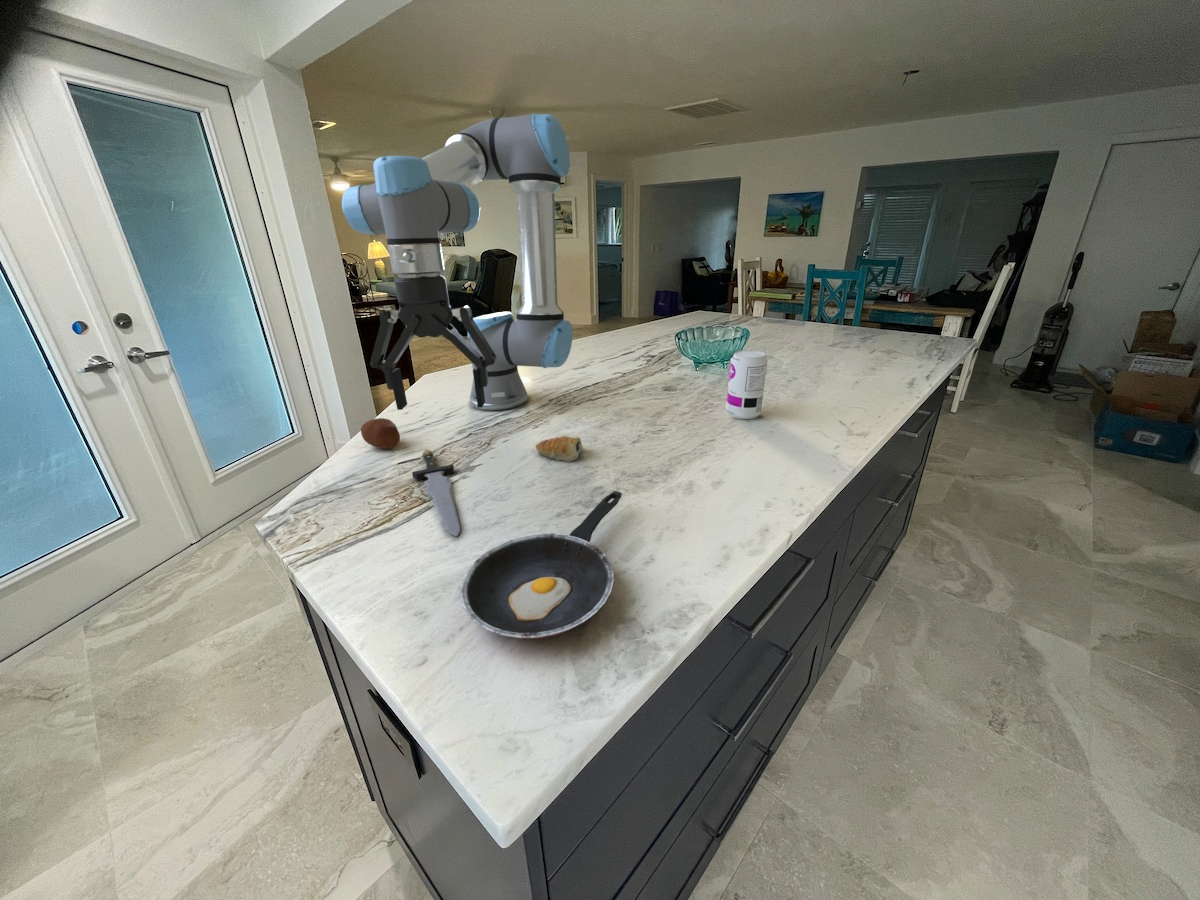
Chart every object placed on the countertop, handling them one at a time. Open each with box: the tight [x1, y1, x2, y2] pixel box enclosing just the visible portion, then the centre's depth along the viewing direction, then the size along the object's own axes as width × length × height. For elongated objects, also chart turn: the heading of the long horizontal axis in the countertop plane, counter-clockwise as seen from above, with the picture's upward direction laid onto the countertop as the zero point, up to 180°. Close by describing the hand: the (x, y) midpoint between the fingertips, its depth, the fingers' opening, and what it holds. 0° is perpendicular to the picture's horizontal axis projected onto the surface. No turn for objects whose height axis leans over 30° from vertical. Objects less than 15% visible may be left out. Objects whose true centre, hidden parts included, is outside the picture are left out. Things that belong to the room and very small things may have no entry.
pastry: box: [535, 435, 583, 462], centre depth 96 cm, size 9×7×4 cm
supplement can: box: [725, 349, 768, 420], centre depth 112 cm, size 8×8×15 cm
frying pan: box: [459, 490, 623, 640], centre depth 64 cm, size 19×32×4 cm, turn 152°
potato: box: [360, 417, 401, 450], centre depth 102 cm, size 7×9×6 cm
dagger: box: [411, 448, 462, 537], centre depth 85 cm, size 8×32×2 cm, turn 34°
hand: (442, 406), depth 81 cm, fingers open, 13 cm apart
